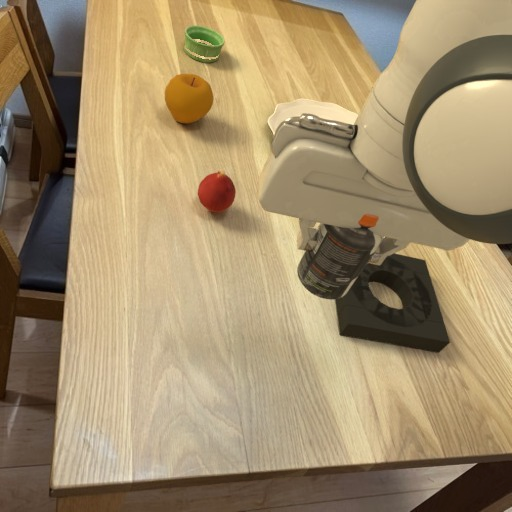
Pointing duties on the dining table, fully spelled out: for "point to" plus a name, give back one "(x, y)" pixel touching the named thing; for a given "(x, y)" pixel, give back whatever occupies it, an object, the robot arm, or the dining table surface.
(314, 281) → the pill bottle
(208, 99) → the apple
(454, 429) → the dining table surface
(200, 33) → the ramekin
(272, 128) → the plate
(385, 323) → the socket pad
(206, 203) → the onion
